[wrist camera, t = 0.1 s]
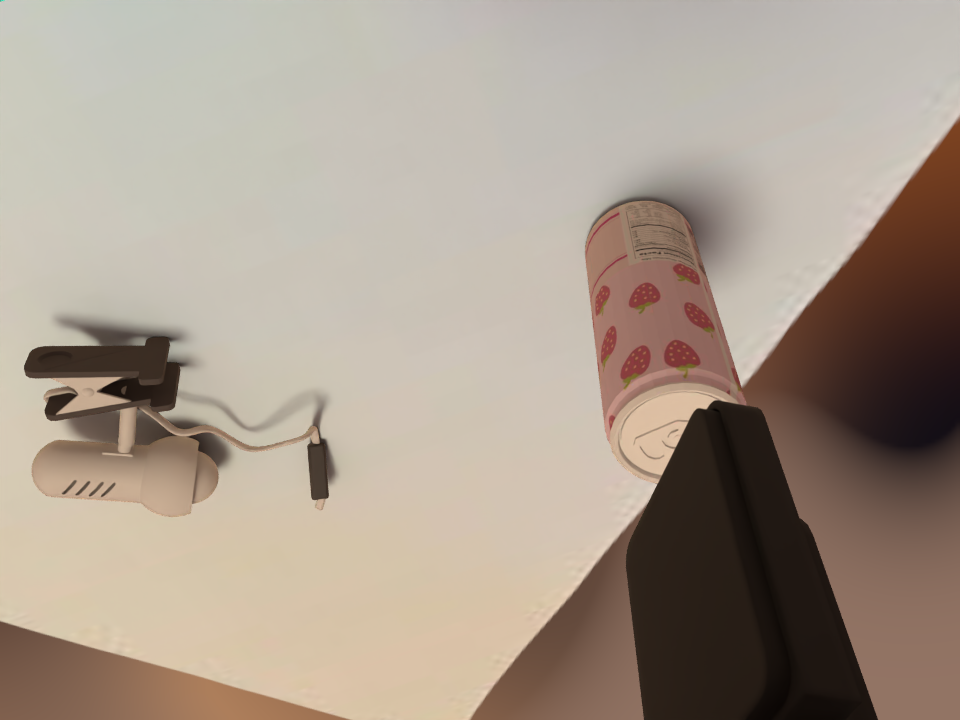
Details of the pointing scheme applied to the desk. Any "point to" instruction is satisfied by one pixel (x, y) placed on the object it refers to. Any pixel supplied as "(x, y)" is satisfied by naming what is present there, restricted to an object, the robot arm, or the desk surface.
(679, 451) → the robot arm
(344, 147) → the desk surface
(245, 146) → the desk surface
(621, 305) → the beverage can
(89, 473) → the clip-on lamp
